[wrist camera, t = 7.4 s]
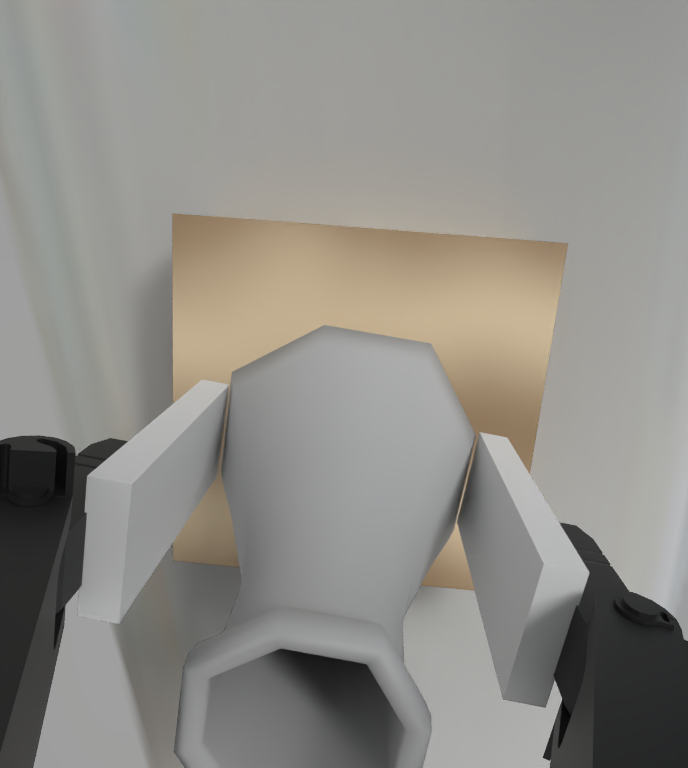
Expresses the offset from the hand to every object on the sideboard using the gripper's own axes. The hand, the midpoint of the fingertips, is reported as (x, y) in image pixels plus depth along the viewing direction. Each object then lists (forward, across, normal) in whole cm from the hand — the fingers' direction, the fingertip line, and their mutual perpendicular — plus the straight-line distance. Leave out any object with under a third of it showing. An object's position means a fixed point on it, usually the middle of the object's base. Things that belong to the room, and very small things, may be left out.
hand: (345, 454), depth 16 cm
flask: (+1, 0, 0) cm, 1 cm away
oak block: (+8, 0, 0) cm, 8 cm away
